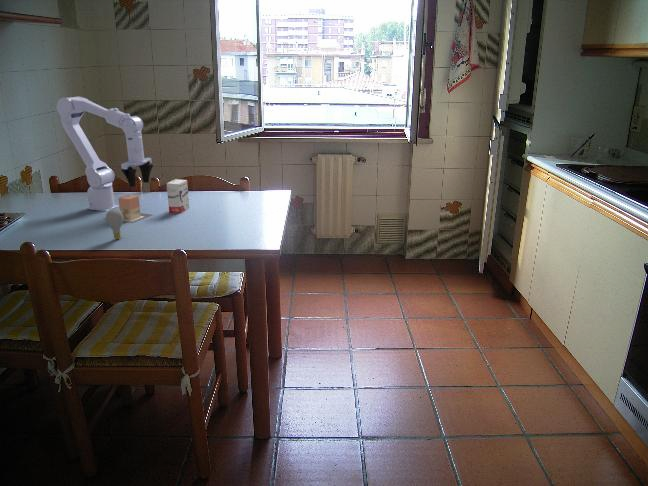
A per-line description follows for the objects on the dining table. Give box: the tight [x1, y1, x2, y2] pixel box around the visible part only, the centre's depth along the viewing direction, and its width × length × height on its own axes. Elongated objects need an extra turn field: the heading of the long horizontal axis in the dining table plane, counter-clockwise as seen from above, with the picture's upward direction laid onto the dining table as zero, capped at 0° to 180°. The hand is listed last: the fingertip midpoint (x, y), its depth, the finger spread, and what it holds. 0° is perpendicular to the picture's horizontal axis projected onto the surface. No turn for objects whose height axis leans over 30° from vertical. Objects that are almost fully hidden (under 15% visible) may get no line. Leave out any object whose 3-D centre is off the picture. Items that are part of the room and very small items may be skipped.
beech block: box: [119, 206, 141, 220], centre depth 201 cm, size 5×5×4 cm
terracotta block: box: [118, 194, 141, 210], centre depth 200 cm, size 5×5×4 cm
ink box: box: [166, 178, 190, 214], centre depth 210 cm, size 9×5×12 cm, turn 168°
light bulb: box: [105, 209, 124, 240], centre depth 177 cm, size 5×5×10 cm
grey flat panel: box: [103, 212, 153, 224], centre depth 203 cm, size 14×12×1 cm
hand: (139, 184), depth 209 cm, fingers open, 7 cm apart
